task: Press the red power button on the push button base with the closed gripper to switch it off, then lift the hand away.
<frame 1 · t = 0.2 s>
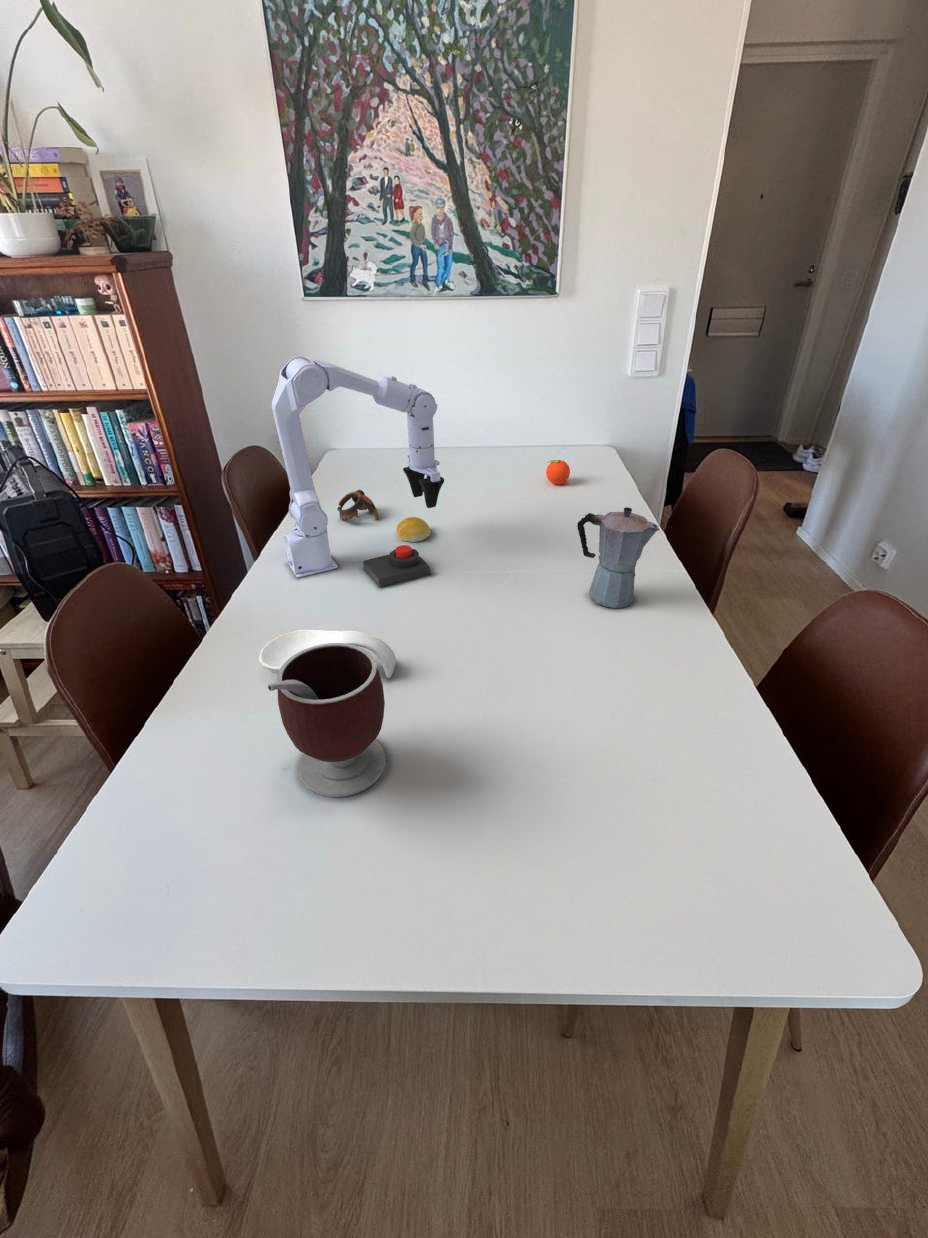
hand: (424, 501, 149), 10 cm above the table, tool pointing down, fingers open, 7 cm apart
spoon rest: (329, 668, 111), on the table
clementine: (555, 483, 185), on the table
power button: (403, 552, 139), point 4 cm above the table, slide at 0.1 cm
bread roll: (413, 535, 157), on the table
mate gourd: (339, 768, 91), on the table
push button base: (396, 572, 140), on the table
brown looped frame: (360, 518, 166), on the table
moka pot: (608, 598, 129), on the table
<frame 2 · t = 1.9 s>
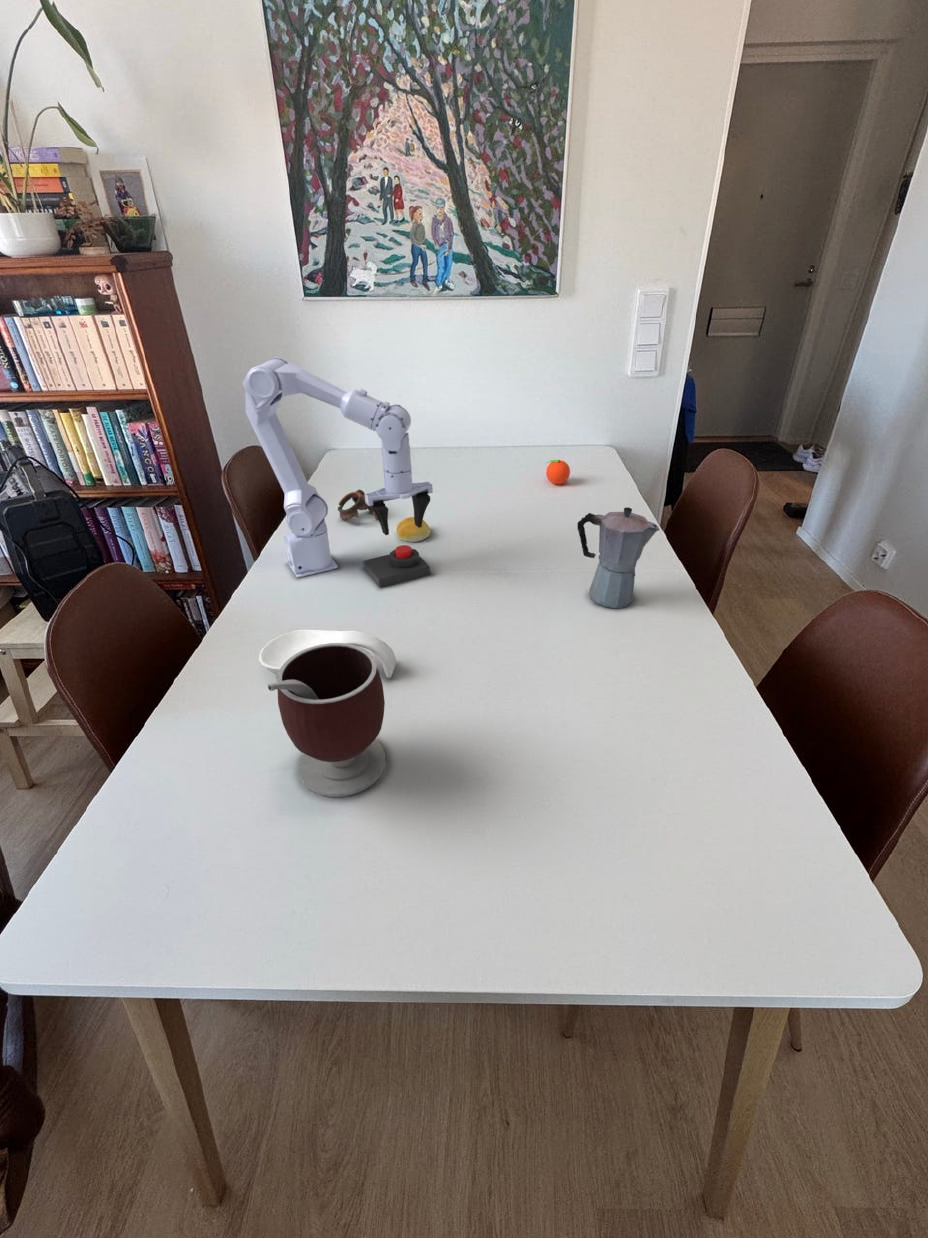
hand: (402, 529, 136), 10 cm above the table, tool pointing down, fingers open, 7 cm apart
nothing on the table moved.
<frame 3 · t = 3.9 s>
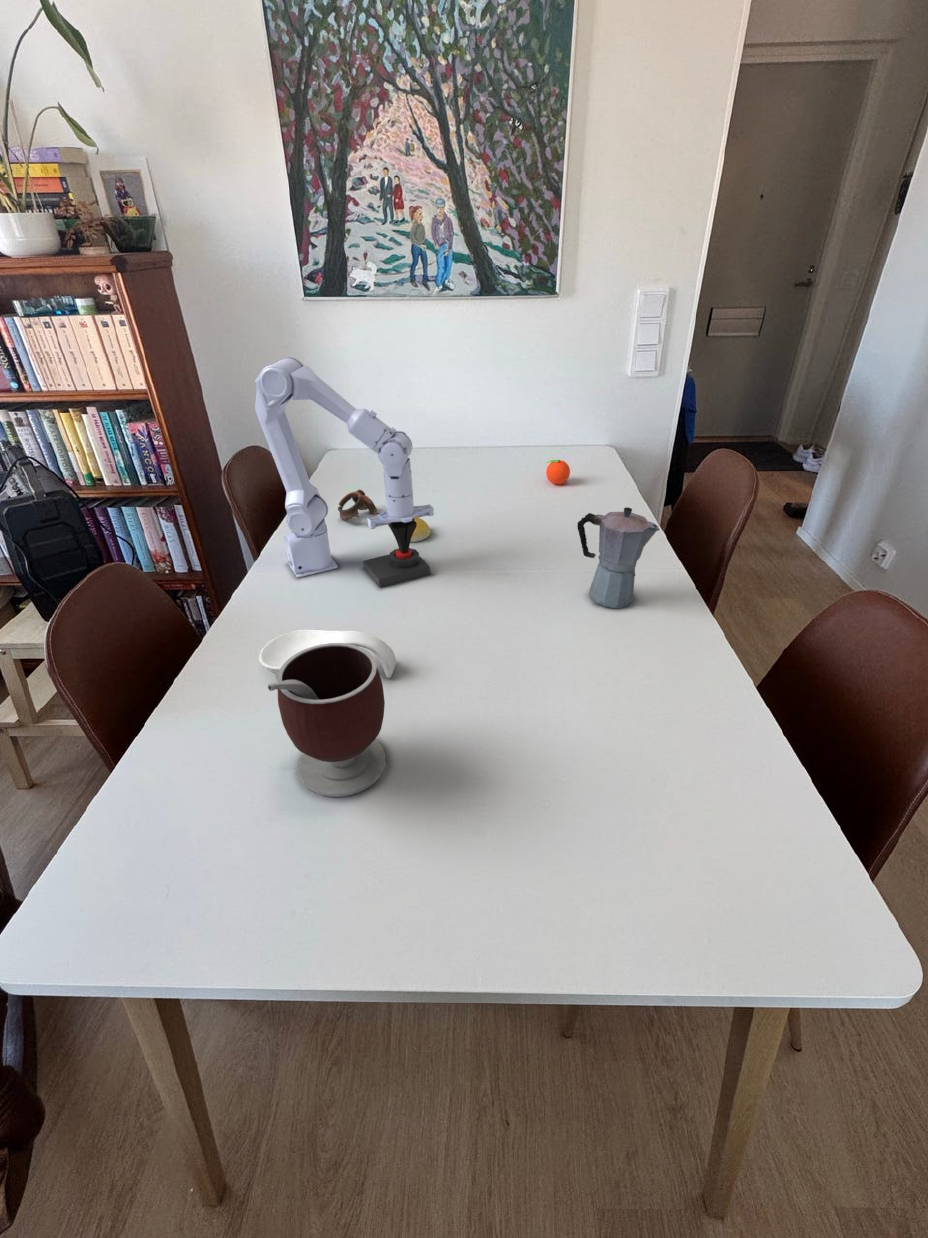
hand: (403, 551, 139), 5 cm above the table, tool pointing down, fingers closed, pressing on power button
power button: (403, 554, 139), point 4 cm above the table, slide at -0.5 cm, touching gripper
everything else where it was.
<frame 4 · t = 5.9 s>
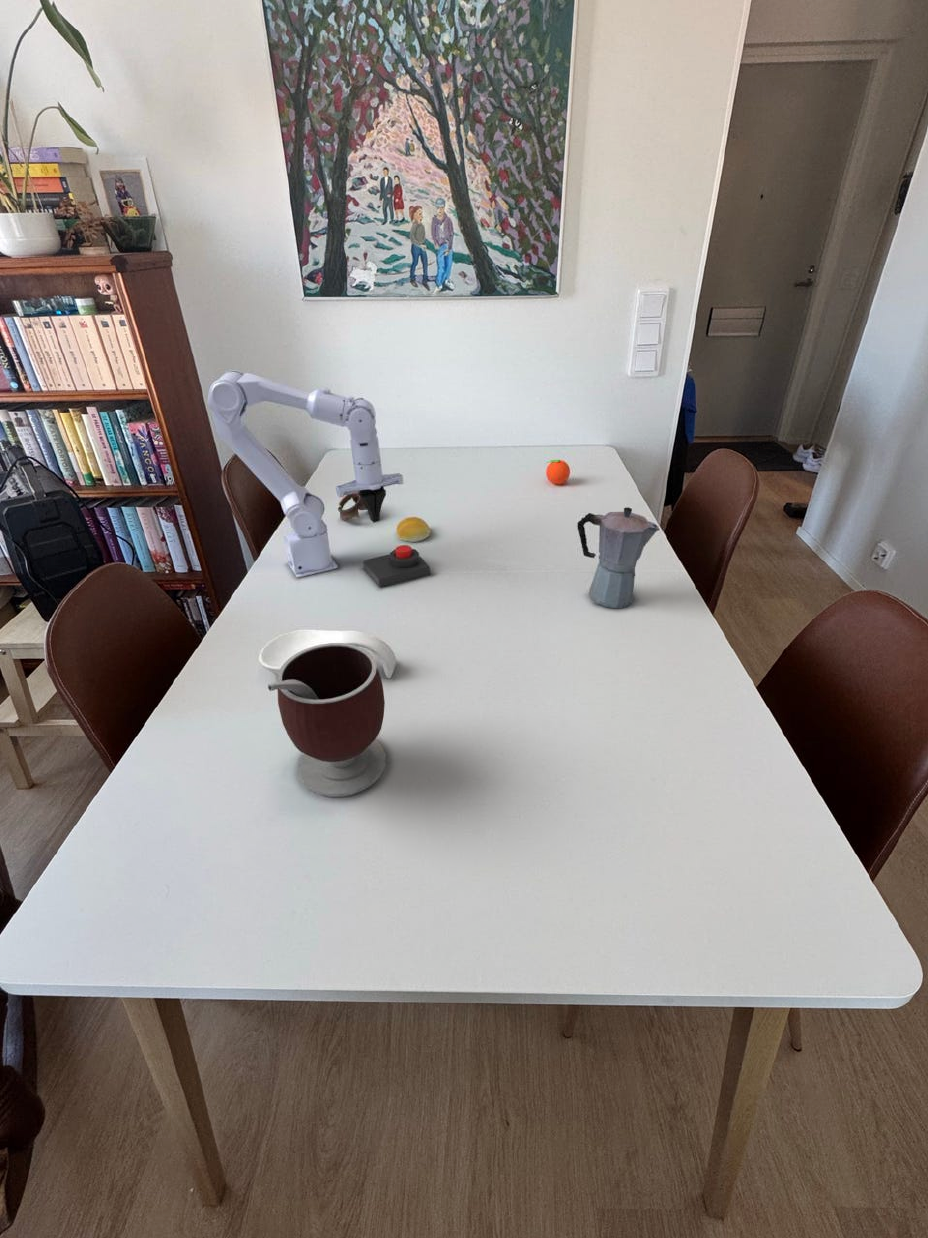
hand: (374, 520, 139), 10 cm above the table, tool pointing down, fingers closed
power button: (403, 552, 139), point 4 cm above the table, slide at 0.1 cm
everything else where it was.
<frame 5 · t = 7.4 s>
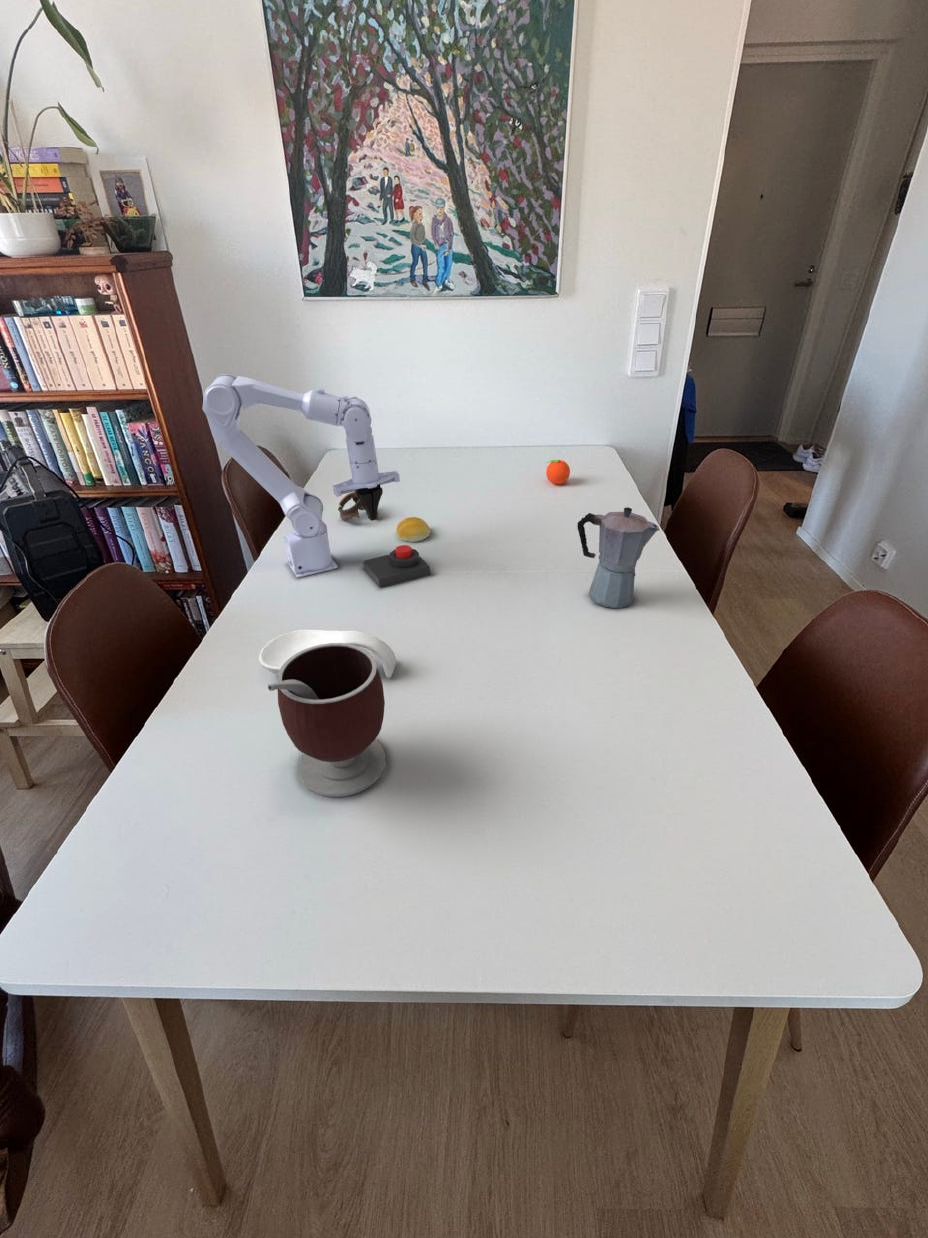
hand: (372, 518, 140), 10 cm above the table, tool pointing down, fingers closed
nothing on the table moved.
at the end: power button pushed in 1.2 cm at the most during the clip, back to where it started at the end; power button slide at 0.1 cm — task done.
